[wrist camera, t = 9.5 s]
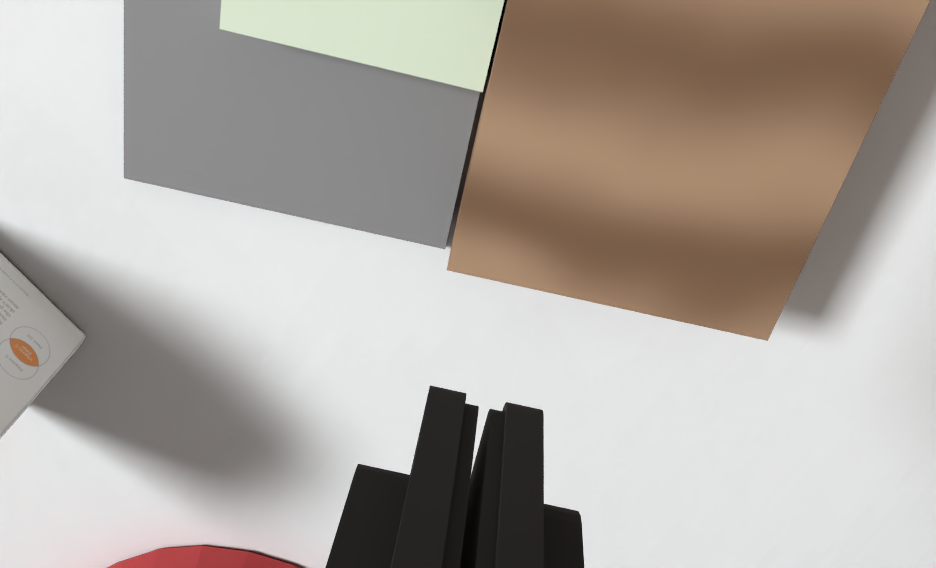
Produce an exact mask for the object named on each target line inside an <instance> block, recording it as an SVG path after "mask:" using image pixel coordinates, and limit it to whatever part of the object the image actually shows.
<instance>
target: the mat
mask: <svg viewBox="0 0 936 568" xmlns="http://www.w3.org/2000/svg"><path fill="white" fill-rule="evenodd" d="M220 13H221V0H124V178H126V179H130V180H135V181H139V182H144V183H148V184H153V185H157V186H162V187H166V188H171V189H175V190H180V191H184V192H189V193H194V194H198V195H203V196H207V197H212V198H216V199H221V200H225V201H230V202H234V203H239V204H243V205H248V206H252V207H257V208H261V209H266V210H270V211H275V212H279V213H284V214H288V215H293V216H298V217H302V218H307V219H311V220H316V221H320V222H325V223H329V224H334V225H338V226H343V227H347V228H352V229H356V230H361V231H365V232H370V233H374V234H379V235H383V236H388V237H392V238H397V239H402V240H406V241H411V242H415V243H420V244H424V245H429V246H433V247H438V248H442V249H445V247H446V243H447V238H448V234H449V229H450V225H451V220H452V216H453V211H454V207H455V202H456V198H457V193H458V189H459V184H460V180H461V176H462V171H463V167H464V162H465V158H466V153H467V149H468V144H469V140H470V135H471V131H472V126H473V122H474V117H475V113H476V108H477V104H478V99H479V95H480V92H479V91H475V90H471V89H467V88H463V87H459V86H454V85H450V84H446V83H442V82H438V81H434V80H430V79H425V78H421V77H417V76H413V75H409V74H405V73H400V72H396V71H392V70H388V69H384V68H380V67H376V66H371V65H367V64H363V63H359V62H355V61H351V60H346V59H342V58H338V57H334V56H330V55H326V54H322V53H317V52H313V51H309V50H305V49H301V48H297V47H292V46H288V45H284V44H280V43H276V42H272V41H268V40H263V39H259V38H255V37H251V36H247V35H243V34H238V33H234V32H230V31H226V30H222V29H219V28H220Z"/></svg>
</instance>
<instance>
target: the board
mask: <svg viewBox="0 0 936 568" xmlns="http://www.w3.org/2000/svg"><path fill="white" fill-rule="evenodd" d="M929 2H930V0H506V4H505V9H504V13H503V17H502V22H501V26H500V31H499V35H498V40H497V44H496V48H495V53H494V57H493V62H492V66H491V70H490V75H489V79H488V84H487V88H486V92H485V97H484V101H483V106H482V110H481V114H480V119H479V123H478V128H477V132H476V137H475V141H474V145H473V150H472V154H471V159H470V163H469V167H468V172H467V176H466V181H465V185H464V189H463V194H462V198H461V203H460V207H459V212H458V216H457V220H456V225H455V230H454V235H453V241H452V246H451V251H450V256H449V261H448V267H447V270H449V271H453V272H458V273H463V274H467V275H472V276H476V277H481V278H485V279H490V280H494V281H499V282H503V283H508V284H513V285H517V286H522V287H526V288H531V289H535V290H540V291H544V292H549V293H553V294H558V295H563V296H567V297H572V298H576V299H581V300H585V301H590V302H594V303H599V304H603V305H608V306H613V307H617V308H622V309H626V310H631V311H635V312H640V313H644V314H649V315H653V316H658V317H663V318H667V319H672V320H676V321H681V322H685V323H690V324H694V325H699V326H703V327H708V328H712V329H717V330H722V331H726V332H731V333H735V334H740V335H744V336H749V337H753V338H758V339H762V340H767V341H768V339H769V337H770V335H771V333H772V330H773V328H774V326H775V324H776V322H777V320H778V318H779V316H780V314H781V312H782V310H783V307H784V305H785V303H786V301H787V299H788V297H789V295H790V293H791V291H792V289H793V286H794V284H795V282H796V280H797V278H798V276H799V274H800V272H801V270H802V268H803V266H804V263H805V261H806V259H807V257H808V255H809V253H810V251H811V249H812V247H813V245H814V243H815V240H816V238H817V236H818V234H819V232H820V230H821V228H822V226H823V224H824V222H825V219H826V217H827V215H828V213H829V211H830V209H831V207H832V205H833V203H834V201H835V199H836V196H837V194H838V192H839V190H840V188H841V186H842V184H843V182H844V180H845V178H846V176H847V173H848V171H849V169H850V167H851V165H852V163H853V161H854V159H855V157H856V155H857V153H858V150H859V148H860V146H861V144H862V142H863V140H864V138H865V136H866V134H867V132H868V129H869V127H870V125H871V123H872V121H873V119H874V117H875V115H876V113H877V111H878V109H879V106H880V104H881V102H882V100H883V98H884V96H885V94H886V92H887V90H888V88H889V86H890V83H891V81H892V79H893V77H894V75H895V73H896V71H897V69H898V67H899V65H900V62H901V60H902V58H903V56H904V54H905V52H906V50H907V48H908V46H909V44H910V42H911V39H912V37H913V35H914V33H915V31H916V29H917V27H918V25H919V23H920V21H921V19H922V16H923V14H924V12H925V10H926V8H927V6H928V4H929Z"/></svg>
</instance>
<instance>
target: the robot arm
mask: <svg viewBox="0 0 936 568" xmlns="http://www.w3.org/2000/svg"><path fill="white" fill-rule="evenodd" d="M465 400H466V393H462V392H457V391H453V390H448V389H443V388H439V387H434V386H430V388H429V393H428V397H427V402H426V406H425V411H424V415H423V420H422V424H421V429H420V433H419V438H418V442H417V446H416V451H415V455H414V460H413V464H412V469H411V473H410V475H407V474H403V473H398V472H394V471H389V470H384V469H380V468H375V467H370V466H366V465H361V464H358V466H357V468H356V471H355V474H354V477H353V480H352V484H351V487H350V490H349V493H348V497H347V500H346V503H345V506H344V510H343V513H342V516H341V519H340V523H339V526H338V529H337V532H336V536H335V539H334V542H333V545H332V549H331V552H330V555H329V559H328V562H327V565H326V568H584V556H583V539H582V523H581V516H580V514H579V512H578V511H575V510H570V509H566V508H561V507H556V506H552V505H547V504H544V451H543V411H542V410H540V409H535V408H531V407H526V406H522V405H517V404H512V403H508V402H506V403H505V405H504V408H503V411H498V410H493V409H490V410H489V412H488V415H487V419H486V422H485V426H484V430H483V433H482V437H481V441H480V445H479V448H478V452H477V456H476V459H475V463H474V467H473V470H472V474H471V469H472V460H473V451H474V443H475V434H476V426H477V417H478V408H479V407H478V406H475V405H470V404H465ZM470 477H471V478H470Z"/></svg>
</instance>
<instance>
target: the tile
mask: <svg viewBox="0 0 936 568" xmlns="http://www.w3.org/2000/svg"><path fill="white" fill-rule="evenodd" d="M503 4H504V0H221V13H220V28H219V29H222V30H226V31H230V32H234V33H238V34H243V35H247V36H251V37H255V38H259V39H263V40H268V41H272V42H276V43H280V44H284V45H288V46H292V47H297V48H301V49H305V50H309V51H313V52H317V53H322V54H326V55H330V56H334V57H338V58H342V59H346V60H351V61H355V62H359V63H363V64H367V65H371V66H376V67H380V68H384V69H388V70H392V71H396V72H400V73H405V74H409V75H413V76H417V77H421V78H425V79H430V80H434V81H438V82H442V83H446V84H450V85H454V86H459V87H463V88H467V89H471V90H475V91H479V92H483V89H484V85H485V80H486V76H487V72H488V68H489V63H490V59H491V55H492V51H493V46H494V42H495V38H496V34H497V29H498V25H499V21H500V17H501V12H502V8H503Z"/></svg>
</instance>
